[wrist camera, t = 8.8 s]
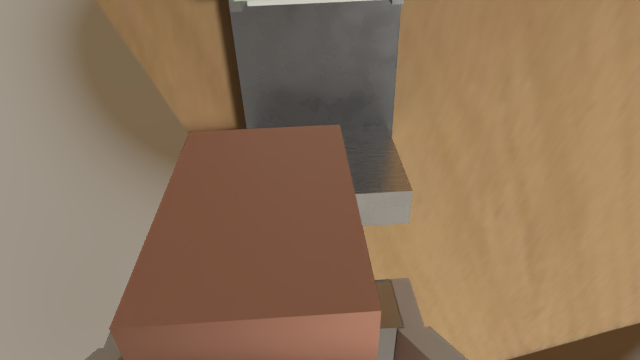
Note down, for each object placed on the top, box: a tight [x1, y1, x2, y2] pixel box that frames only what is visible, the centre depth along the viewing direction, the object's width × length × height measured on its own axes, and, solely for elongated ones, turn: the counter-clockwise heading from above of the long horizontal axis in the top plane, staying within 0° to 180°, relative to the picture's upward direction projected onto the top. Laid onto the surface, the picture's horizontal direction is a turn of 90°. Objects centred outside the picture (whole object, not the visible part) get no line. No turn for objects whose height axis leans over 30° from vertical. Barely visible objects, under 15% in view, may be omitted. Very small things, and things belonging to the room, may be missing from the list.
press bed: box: [228, 0, 413, 226], centre depth 29 cm, size 29×13×12 cm, turn 2°
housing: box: [109, 125, 381, 360], centre depth 12 cm, size 4×7×7 cm, turn 1°
